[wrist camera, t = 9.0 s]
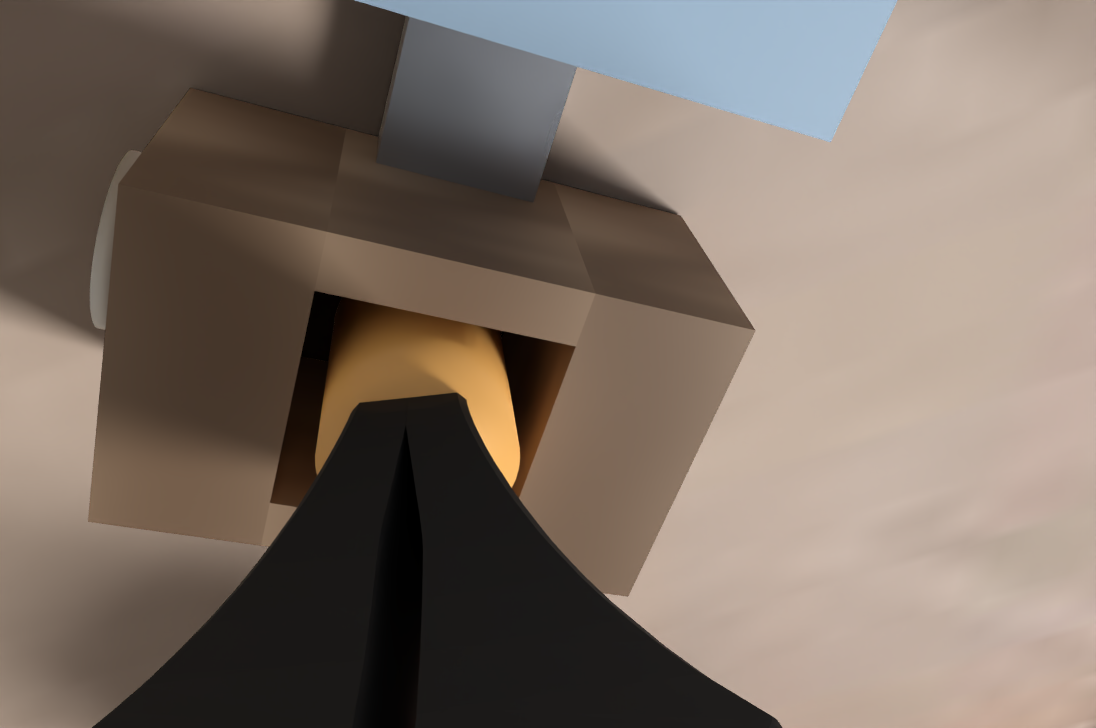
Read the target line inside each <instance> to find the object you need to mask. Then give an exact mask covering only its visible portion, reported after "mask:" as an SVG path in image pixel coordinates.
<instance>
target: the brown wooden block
mask: <svg viewBox="0 0 1096 728" xmlns="http://www.w3.org/2000/svg"><path fill="white" fill-rule="evenodd" d="M377 148H378V137H377V136H373V135H369V134H365V133H362V132H358V131H354V130H350V129H346V128H342V127H339V126H335V125H331V124H327V123H323V122H319V121H316V120H312V119H308V118H304V117H300V116H296V115H293V114H289V113H285V112H281V111H277V110H273V109H270V108H266V107H262V106H258V105H254V104H250V103H247V102H243V101H239V100H235V99H231V98H228V97H224V96H220V95H216V94H212V93H208V92H205V91H201V90H197V89H193V88H190V89H189V90H188V92H187V93H186V94H185V96H184V97H183V98H182V100H181V101H180V102H179V104H178V105H177V106H176V108H175V109H174V110H173V112H172V113H171V114H170V116H169V117H168V118H167V120H166V121H165V122H164V124H163V125H162V126H161V128H160V129H159V130H158V132H157V133H156V134H155V136H154V137H153V138H152V140H151V141H150V142H149V144H148V145H147V146H146V148H145V149H144V150H143V152H139V151H135V150H130V151H128V152H127V153H126V154H125V155H124V157H123V158H122V160H121V162H120V163H119V165H118V167H117V170H116V172H115V174H114V177H113V179H112V182H111V184H110V187H109V190H108V193H107V197H106V200H105V203H104V207H103V211H102V215H101V219H100V223H99V228H98V232H97V238H96V243H95V249H94V255H93V262H92V270H91V281H90V311H91V318H92V322H93V324H94V326H95V327H96V328H99V329H104V330H105V338H104V350H103V361H102V372H101V383H100V394H99V405H98V416H97V428H96V439H95V450H94V461H93V472H92V483H91V495H90V506H89V517H88V522H94V523H102V524H109V525H116V526H123V527H130V528H138V529H145V530H152V531H159V532H166V533H174V534H181V535H188V536H195V537H203V538H210V539H217V540H224V541H231V542H239V543H246V544H253V545H260V546H268V547H269V546H270V545H271V544H272V542H273V541H274V539H275V538H276V537H277V535H278V534H279V532H280V531H281V530H282V528H283V527H284V526H285V524H286V523H287V521H288V520H289V519H290V517H291V516H292V514H293V513H294V511H295V510H296V508H297V507H298V505H299V504H300V502H301V501H302V499H303V498H304V496H305V494H306V493H307V491H308V490H309V488H310V486H311V485H312V483H313V482H314V480H315V478H316V477H317V473H316V468H315V453H316V446H317V439H318V432H319V425H320V418H321V411H322V404H323V396H324V389H325V382H326V375H327V368H328V361H324V360H319V359H314V358H308V357H303V356H301V353H302V348H303V343H304V338H305V334H306V329H307V324H308V319H309V315H310V310H311V305H312V300H313V296H314V291H318V292H322V293H327V294H332V295H336V296H341V297H346V298H351V299H355V300H360V301H365V302H369V303H374V304H379V305H383V306H388V307H393V308H398V309H402V310H407V311H412V312H416V313H421V314H426V315H431V316H435V317H440V318H445V319H449V320H454V321H459V322H463V323H468V324H473V325H478V326H482V327H487V328H492V329H496V330H501V331H505V333H504V336H503V339H502V347H503V353H504V359H505V365H506V371H507V376H508V382H509V388H510V394H511V400H512V406H513V411H514V417H515V423H516V429H517V435H518V441H519V447H520V463H519V470H518V473H517V477H516V480H515V482H514V484H513V486H512V489H513V491H514V492H515V493H516V495H517V496H518V498H519V499H520V500H521V502H522V503H523V505H524V506H525V507H526V509H527V510H528V511H529V512H530V514H531V515H532V516H533V518H534V519H535V520H536V521H537V523H538V524H539V525H540V527H541V528H542V529H543V530H544V531H545V533H546V534H547V535H548V536H549V537H550V539H551V540H552V541H553V542H554V543H555V545H556V546H557V547H558V548H559V549H560V550H561V551H562V552H563V554H564V555H565V556H566V557H567V558H568V559H569V560H570V561H571V562H572V563H573V564H574V565H575V566H576V567H577V568H578V569H579V571H580V572H581V573H582V574H583V575H584V576H585V577H586V578H587V579H588V580H589V581H590V582H592V583H593V584H594V585H595V586H596V587H597V588H598V589H599V590H600V591H601V592H602V593H607V594H614V595H621V596H629V593H630V591H631V589H632V587H633V585H634V583H635V581H636V579H637V577H638V575H639V573H640V570H641V568H642V566H643V564H644V562H645V560H646V558H647V556H648V554H649V552H650V550H651V547H652V545H653V543H654V541H655V539H656V537H657V535H658V533H659V531H660V529H661V527H662V525H663V522H664V520H665V518H666V516H667V514H668V512H669V510H670V508H671V506H672V504H673V502H674V499H675V497H676V495H677V493H678V491H679V489H680V487H681V485H682V483H683V481H684V479H685V477H686V474H687V472H688V470H689V468H690V466H691V464H692V462H693V460H694V458H695V456H696V454H697V451H698V449H699V447H700V445H701V443H702V441H703V439H704V437H705V435H706V433H707V431H708V428H709V426H710V424H711V422H712V420H713V418H714V416H715V414H716V412H717V410H718V408H719V406H720V403H721V401H722V399H723V397H724V395H725V393H726V391H727V389H728V387H729V385H730V383H731V380H732V378H733V376H734V374H735V372H736V370H737V368H738V366H739V364H740V362H741V360H742V357H743V355H744V353H745V351H746V349H747V347H748V345H749V343H750V341H751V339H752V337H753V335H754V332H755V329H754V328H753V326H752V324H751V323H750V321H749V320H748V318H747V317H746V315H745V314H744V312H743V311H742V309H741V308H740V306H739V304H738V303H737V301H736V300H735V298H734V297H733V295H732V294H731V292H730V291H729V289H728V288H727V286H726V284H725V283H724V281H723V280H722V278H721V277H720V275H719V274H718V272H717V271H716V269H715V268H714V266H713V264H712V263H711V261H710V260H709V258H708V257H707V255H706V254H705V252H704V251H703V249H702V248H701V246H700V244H699V243H698V241H697V240H696V238H695V237H694V235H693V234H692V232H691V231H690V229H689V228H688V226H687V225H686V223H685V221H684V220H683V218H682V217H681V216H680V215H676V214H672V213H668V212H664V211H660V210H657V209H653V208H649V207H645V206H641V205H637V204H634V203H630V202H626V201H622V200H618V199H614V198H611V197H607V196H603V195H599V194H595V193H591V192H588V191H584V190H580V189H576V188H572V187H568V186H565V185H561V184H557V183H553V182H549V181H545V180H542V179H541V180H540V183H539V186H538V190H537V193H536V196H535V199H534V202H529V201H525V200H521V199H517V198H513V197H509V196H505V195H502V194H498V193H494V192H490V191H486V190H482V189H478V188H474V187H470V186H466V185H462V184H458V183H454V182H450V181H446V180H442V179H438V178H434V177H431V176H427V175H423V174H419V173H415V172H411V171H407V170H403V169H399V168H395V167H391V166H387V165H383V164H379V163H376V159H377Z"/></svg>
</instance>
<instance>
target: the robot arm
mask: <svg viewBox="0 0 1096 728" xmlns="http://www.w3.org/2000/svg"><path fill="white" fill-rule="evenodd" d="M92 728H782V726H781V725H780V723H779V722H778V721H777V720H776V719H775V718H774V717H772V716H771V715H769V714H767V713H766V712H764V711H762V710H761V709H759V708H757V707H756V706H754V705H752V704H751V703H749V702H748V701H746V700H744V699H743V698H741V697H739V696H738V695H736V694H734V693H733V692H731V691H729V690H728V689H726V688H724V687H723V686H721V685H720V684H718V683H716V682H715V681H713V680H711V679H710V678H708V677H707V676H705V675H704V674H703V673H701V672H700V671H698V670H697V669H696V668H694V667H693V666H691V665H690V664H689V663H687V662H686V661H685V660H683V659H682V658H680V657H679V656H678V655H676V654H675V653H673V652H672V651H671V650H669V649H668V648H667V647H665V646H664V645H663V644H662V643H660V642H659V641H658V640H657V639H656V638H654V637H653V636H652V635H651V634H650V633H648V632H647V631H646V630H645V629H644V628H642V627H641V626H640V625H639V624H638V623H636V622H635V621H634V620H633V619H632V618H630V617H629V616H628V615H627V614H626V613H624V612H623V611H622V610H621V609H620V608H618V607H617V606H616V605H615V604H614V603H612V602H611V601H610V600H609V599H608V598H607V597H606V596H605V595H604V594H603V593H602V592H601V591H600V590H599V589H598V588H597V587H596V586H595V585H594V584H593V583H592V582H590V581H589V580H588V579H587V578H586V577H585V576H584V575H583V574H582V573H581V572H580V571H579V569H578V568H577V567H576V566H575V565H574V564H573V563H572V562H571V561H570V560H569V559H568V558H567V557H566V556H565V555H564V554H563V552H562V551H561V550H560V549H559V548H558V547H557V546H556V545H555V543H554V542H553V541H552V540H551V539H550V537H549V536H548V535H547V534H546V533H545V531H544V530H543V529H542V528H541V527H540V525H539V524H538V523H537V521H536V520H535V519H534V518H533V516H532V515H531V514H530V512H529V511H528V510H527V509H526V507H525V506H524V505H523V503H522V502H521V500H520V499H519V498H518V496H517V495H516V493H515V492H514V491H513V489H512V488H511V486H510V485H509V483H508V481H507V480H506V478H505V477H504V475H503V474H502V472H501V471H500V469H499V468H498V466H497V465H496V463H495V461H494V460H493V458H492V456H491V455H490V453H489V451H488V449H487V448H486V446H485V444H484V442H483V440H482V438H481V436H480V434H479V432H478V430H477V428H476V426H475V424H474V421H473V419H472V417H471V414H470V411H469V408H468V405H467V399H465V398H464V397H463V396H461V395H460V394H459V393H457V392H456V393H446V394H437V395H428V396H419V397H409V398H399V399H390V400H380V401H370V402H360V403H359V404H358V405H357V406H356V407H355V408H354V409H353V410H352V412H351V414H350V416H349V418H348V420H347V423H346V425H345V427H344V429H343V431H342V433H341V434H340V436H339V438H338V440H337V442H336V444H335V446H334V448H333V449H332V451H331V453H330V455H329V456H328V458H327V460H326V462H325V463H324V465H323V467H322V469H321V470H320V472H319V473H318V475H317V477H316V478H315V480H314V482H313V483H312V485H311V486H310V488H309V490H308V491H307V493H306V494H305V496H304V498H303V499H302V501H301V502H300V504H299V505H298V507H297V508H296V510H295V511H294V513H293V514H292V516H291V517H290V519H289V520H288V521H287V523H286V524H285V526H284V527H283V528H282V530H281V531H280V532H279V534H278V535H277V537H276V538H275V539H274V541H273V542H272V544H271V545H270V546H269V548H268V549H267V551H266V552H265V553H264V555H263V556H262V557H261V559H260V560H259V561H258V563H257V564H256V565H255V566H254V568H253V569H252V570H251V571H250V573H249V574H248V575H247V576H246V578H245V579H244V580H243V581H242V582H241V584H240V585H239V586H238V587H237V588H236V590H235V591H234V592H233V593H232V594H231V595H230V596H229V598H228V599H227V600H226V601H225V602H224V603H223V604H222V606H221V607H220V608H219V609H218V610H217V611H216V612H215V613H214V615H213V616H212V617H211V618H210V619H209V620H208V621H207V622H206V623H205V624H204V625H203V626H202V627H201V628H200V629H199V630H198V631H197V632H196V633H195V634H194V635H193V636H192V638H191V639H190V640H189V641H188V642H187V643H186V644H185V645H184V646H183V647H182V648H181V649H180V650H179V651H178V652H177V653H176V654H175V655H174V656H173V657H172V658H170V659H169V660H168V661H167V662H166V663H165V664H164V665H163V666H162V667H161V668H160V669H159V670H158V671H157V672H156V673H155V674H154V675H153V676H152V677H151V678H150V679H149V680H148V681H146V682H145V683H144V684H143V685H142V686H141V687H140V688H138V689H137V690H136V691H135V692H134V693H133V694H132V695H130V696H129V697H128V698H127V699H126V700H125V701H123V702H122V703H121V704H120V705H119V706H118V707H116V708H115V709H114V710H113V711H112V712H111V713H109V714H108V715H107V716H106V717H105V718H103V719H102V720H101V721H100V722H98V723H97V724H96V725H95V726H93V727H92Z"/></svg>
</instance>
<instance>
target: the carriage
mask: <svg viewBox="0 0 1096 728" xmlns="http://www.w3.org/2000/svg"><path fill="white" fill-rule="evenodd" d="M355 1H359V2H362V3H365V4H369V5H372V6H376V7H379V8H382V9H386V10H389V11H392V12H396V13H399V14H402V15H406V16H409V17H412V18H416V19H419V20H422V21H426V22H429V23H433V24H436V25H439V26H443V27H446V28H449V29H453V30H456V31H459V32H463V33H466V34H469V35H473V36H476V37H479V38H483V39H486V40H490V41H493V42H496V43H500V44H503V45H506V46H510V47H513V48H516V49H520V50H523V51H526V52H530V53H533V54H536V55H540V56H543V57H546V58H550V59H553V60H557V61H560V62H563V63H567V64H570V65H573V66H577V67H580V68H583V69H587V70H590V71H593V72H597V73H600V74H603V75H607V76H610V77H614V78H617V79H620V80H624V81H627V82H630V83H634V84H637V85H640V86H644V87H647V88H650V89H654V90H657V91H660V92H664V93H667V94H671V95H674V96H677V97H681V98H684V99H687V100H691V101H694V102H697V103H701V104H704V105H707V106H711V107H714V108H717V109H721V110H724V111H728V112H731V113H734V114H738V115H741V116H744V117H748V118H751V119H754V120H758V121H761V122H764V123H768V124H771V125H774V126H778V127H781V128H784V129H788V130H791V131H795V132H798V133H801V134H805V135H808V136H811V137H815V138H818V139H821V140H825V141H828V142H831V140H832V138H833V136H834V134H835V132H836V130H837V127H838V125H839V123H840V121H841V119H842V117H843V115H844V113H845V110H846V108H847V106H848V104H849V102H850V100H851V98H852V96H853V94H854V91H855V89H856V87H857V85H858V83H859V81H860V79H861V77H862V74H863V72H864V70H865V68H866V66H867V64H868V62H869V60H870V57H871V55H872V53H873V51H874V49H875V47H876V45H877V43H878V40H879V38H880V36H881V34H882V32H883V30H884V28H885V26H886V23H887V21H888V19H889V17H890V15H891V13H892V11H893V9H894V6H895V4H896V2H897V0H355Z"/></svg>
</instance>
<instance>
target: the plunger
mask: <svg viewBox="0 0 1096 728" xmlns="http://www.w3.org/2000/svg"><path fill="white" fill-rule="evenodd" d="M456 392H457V393H459V394H460V395H461V396H463V397H464V398H465V399H467V405H468V408H469V411H470V414H471V417H472V419H473V421H474V424H475V426H476V428H477V430H478V432H479V434H480V436H481V438H482V440H483V442H484V444H485V446H486V448H487V449H488V451H489V453H490V455H491V456H492V458H493V460H494V461H495V463H496V465H497V466H498V468H499V469H500V471H501V472H502V474H503V475H504V477H505V478H506V480H507V481H508V483H509V485H510V486H511V488H512V486H513V484H514V482H515V480H516V477H517V473H518V470H519V463H520V447H519V441H518V435H517V429H516V423H515V417H514V411H513V406H512V400H511V394H510V388H509V382H508V376H507V371H506V365H505V359H504V353H503V347H502V341H501V335H500V330H496V329H492V328H487V327H482V326H478V325H473V324H468V323H463V322H459V321H454V320H449V319H445V318H440V317H435V316H431V315H426V314H421V313H416V312H412V311H407V310H402V309H398V308H393V307H388V306H383V305H379V304H374V303H369V302H365V301H360V300H355V299H351V298H346V297H342V298H341V300H340V303H339V305H338V307H337V310H336V314H335V319H334V326H333V333H332V340H331V347H330V354H329V361H328V368H327V375H326V382H325V389H324V396H323V404H322V411H321V418H320V425H319V432H318V439H317V446H316V453H315V468H316V473H317V475H318V473H319V472H320V470H321V469H322V467H323V465H324V463H325V462H326V460H327V458H328V456H329V455H330V453H331V451H332V449H333V448H334V446H335V444H336V442H337V440H338V438H339V436H340V434H341V433H342V431H343V429H344V427H345V425H346V423H347V420H348V418H349V416H350V414H351V412H352V410H353V409H354V408H355V407H356V406H357V405H358V404H359V403H360V402H370V401H380V400H390V399H399V398H409V397H419V396H428V395H437V394H446V393H456Z"/></svg>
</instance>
